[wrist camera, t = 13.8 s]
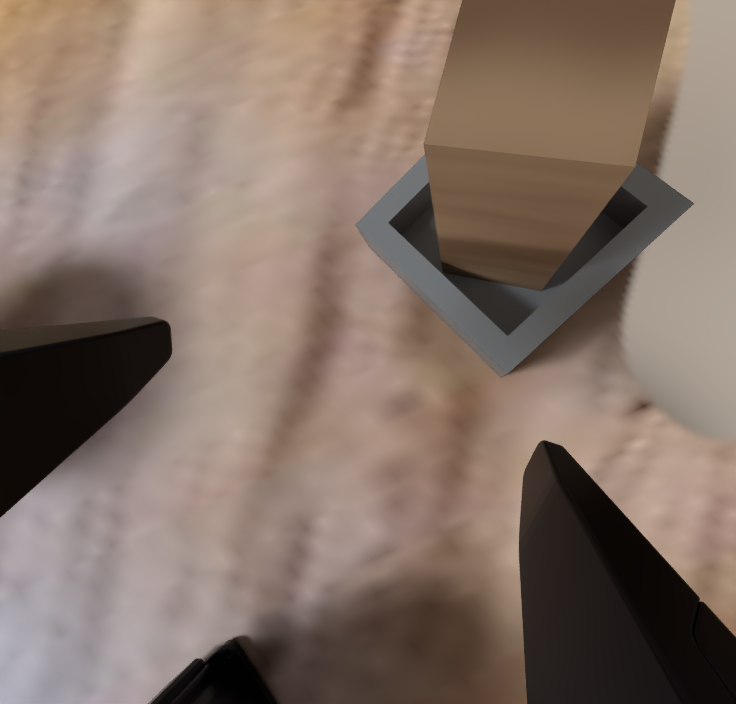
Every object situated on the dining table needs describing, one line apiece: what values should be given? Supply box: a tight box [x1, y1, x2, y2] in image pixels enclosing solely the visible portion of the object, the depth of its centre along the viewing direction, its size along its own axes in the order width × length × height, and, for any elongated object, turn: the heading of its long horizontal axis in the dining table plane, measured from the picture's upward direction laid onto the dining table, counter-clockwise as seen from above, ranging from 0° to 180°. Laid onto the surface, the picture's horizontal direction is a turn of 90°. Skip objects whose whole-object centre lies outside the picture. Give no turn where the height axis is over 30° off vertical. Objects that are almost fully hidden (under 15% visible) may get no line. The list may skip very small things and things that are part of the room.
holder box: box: [355, 155, 694, 377], centre depth 19 cm, size 10×10×3 cm
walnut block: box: [424, 0, 675, 291], centre depth 15 cm, size 5×5×11 cm
